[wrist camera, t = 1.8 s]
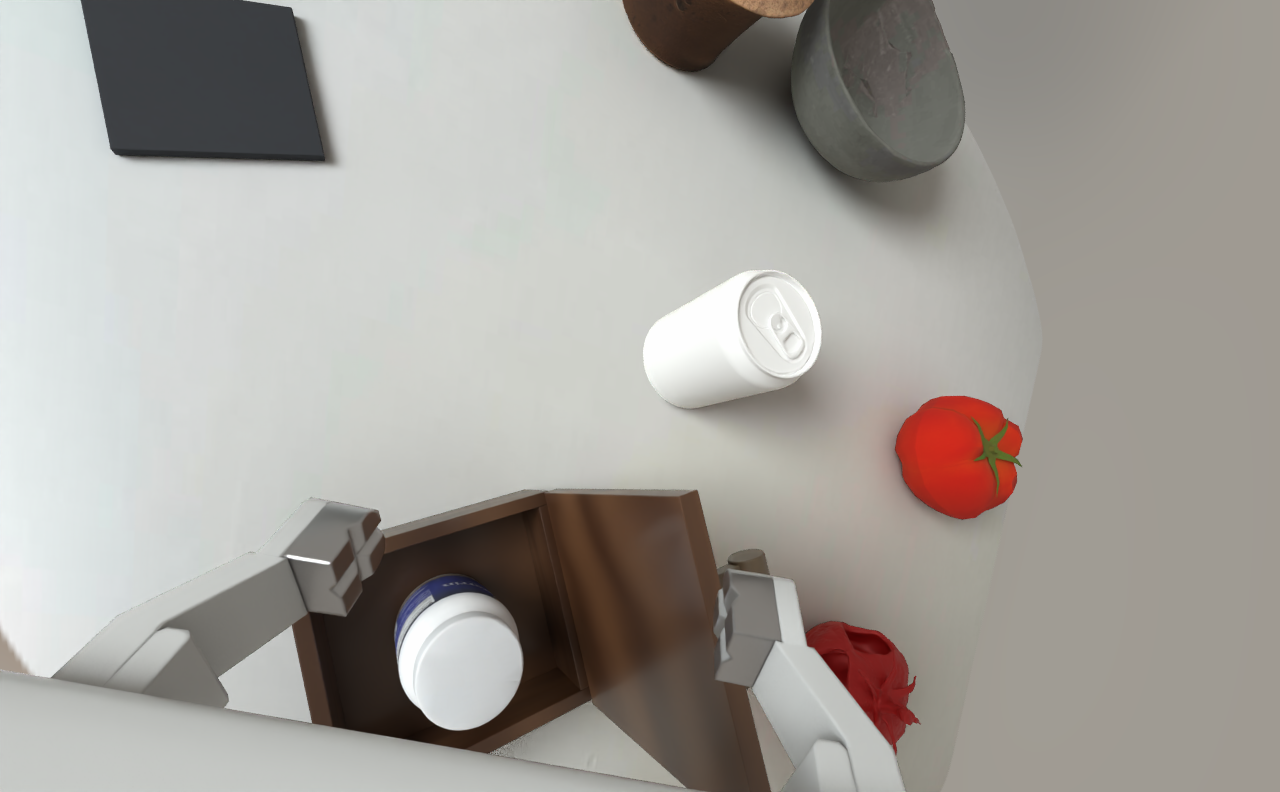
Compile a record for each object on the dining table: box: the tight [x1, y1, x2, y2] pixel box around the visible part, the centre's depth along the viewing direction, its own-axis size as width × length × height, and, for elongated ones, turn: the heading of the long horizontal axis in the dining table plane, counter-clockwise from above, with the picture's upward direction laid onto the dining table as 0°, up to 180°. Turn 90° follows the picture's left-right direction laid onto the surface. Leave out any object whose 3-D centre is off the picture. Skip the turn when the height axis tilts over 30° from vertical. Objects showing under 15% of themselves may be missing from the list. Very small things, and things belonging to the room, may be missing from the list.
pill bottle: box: [394, 574, 524, 730], centre depth 27 cm, size 6×6×10 cm
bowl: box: [791, 0, 965, 182], centre depth 52 cm, size 20×20×10 cm
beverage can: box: [643, 270, 822, 409], centre depth 38 cm, size 8×8×12 cm
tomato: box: [895, 396, 1023, 520], centre depth 52 cm, size 13×12×8 cm
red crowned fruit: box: [805, 621, 920, 754], centre depth 41 cm, size 10×10×9 cm
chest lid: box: [544, 489, 771, 792], centre depth 25 cm, size 14×13×5 cm
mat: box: [81, 0, 325, 161], centre depth 30 cm, size 10×10×1 cm
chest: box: [292, 490, 592, 754], centre depth 30 cm, size 14×13×5 cm
